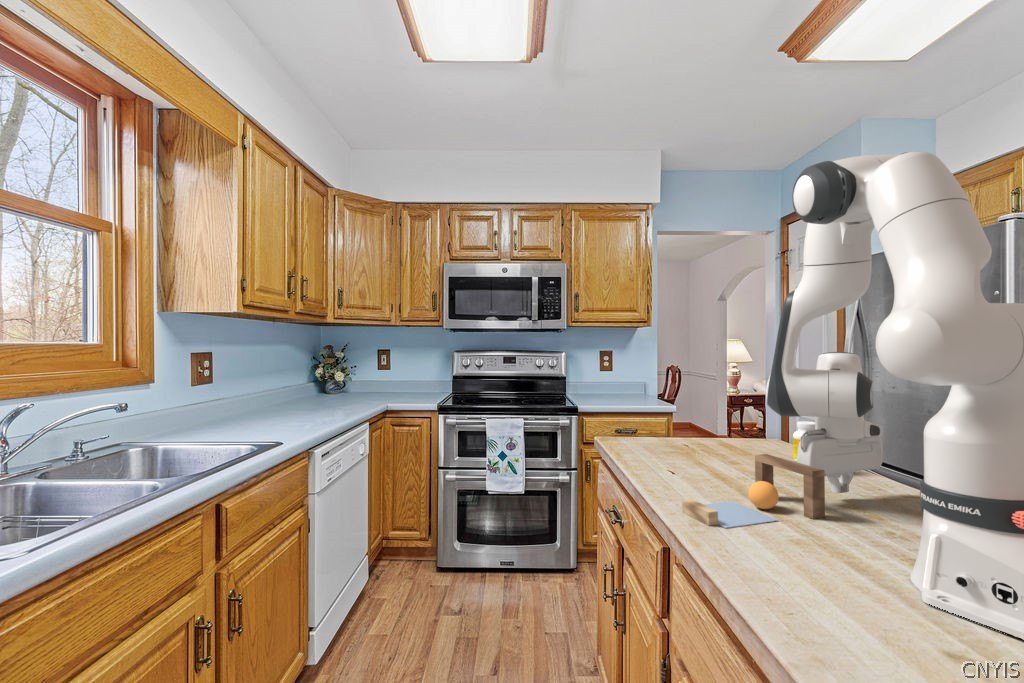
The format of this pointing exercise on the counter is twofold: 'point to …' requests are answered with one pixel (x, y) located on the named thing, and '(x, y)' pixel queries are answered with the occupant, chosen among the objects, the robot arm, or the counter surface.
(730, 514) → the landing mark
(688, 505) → the wall
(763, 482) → the ball
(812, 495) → the bridge
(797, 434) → the supplement bottle
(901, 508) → the counter surface
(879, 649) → the counter surface
